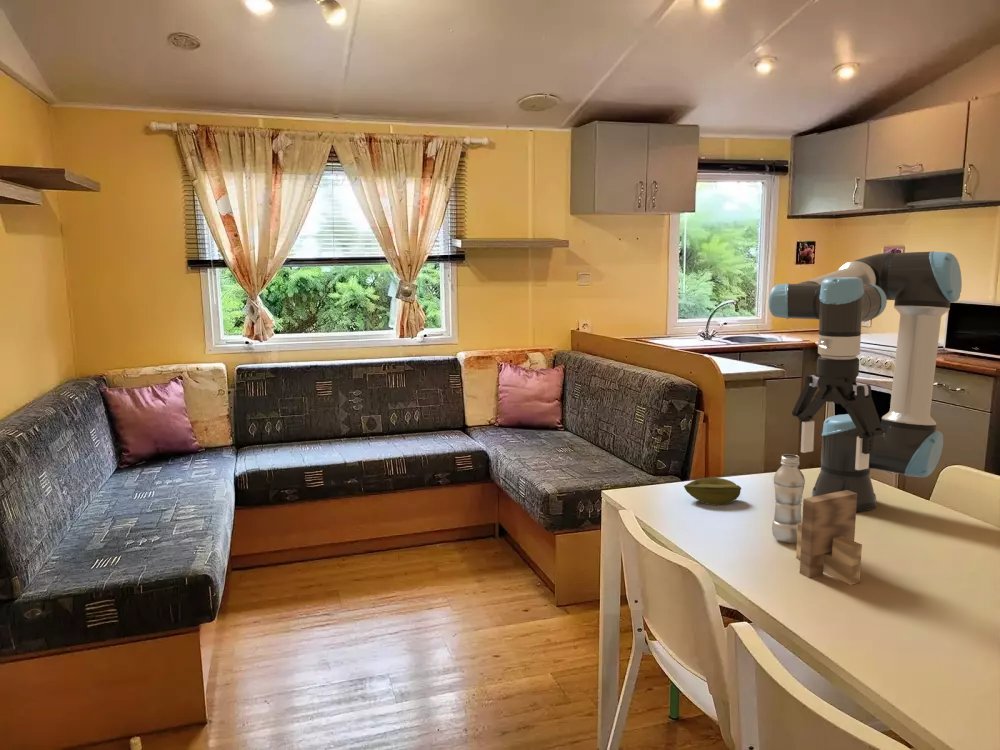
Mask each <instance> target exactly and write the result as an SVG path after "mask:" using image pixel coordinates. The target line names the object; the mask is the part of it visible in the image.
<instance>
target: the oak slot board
mask: <svg viewBox="0 0 1000 750" xmlns="http://www.w3.org/2000/svg"><path fill="white" fill-rule="evenodd" d="M801 537H802V522H800V523H798V530H797V542H796V551H795V552H796V553H795V558H796V559H797V560H799V561H800V556H801ZM862 548H863V544H862V543H860V542H857V541H855V540H854V541H852V540H850V539H848V538H845V537H843V536H840V537H836V538H833V547H832V552H828V553H824V566H823V573H825V574H827V575H829V576H831V577H833V578H835V579H838V580H840V581H841V582H844V583H846V584H848V585H850V586H851V585H855V584H859V583H861V581H860V580H861V568H862V567H861V565H862V563H861V562H862Z"/></svg>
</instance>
